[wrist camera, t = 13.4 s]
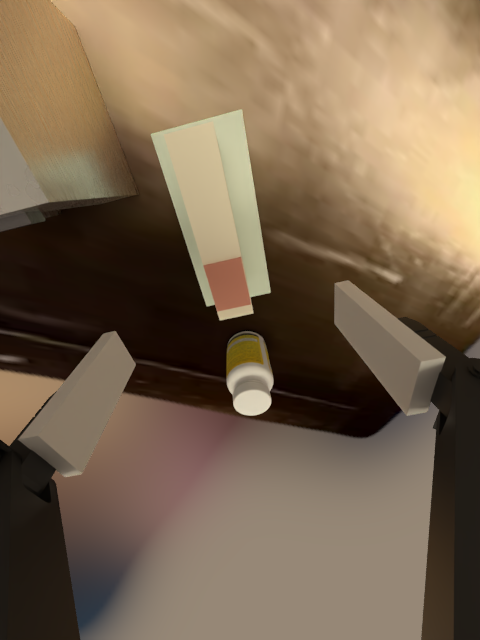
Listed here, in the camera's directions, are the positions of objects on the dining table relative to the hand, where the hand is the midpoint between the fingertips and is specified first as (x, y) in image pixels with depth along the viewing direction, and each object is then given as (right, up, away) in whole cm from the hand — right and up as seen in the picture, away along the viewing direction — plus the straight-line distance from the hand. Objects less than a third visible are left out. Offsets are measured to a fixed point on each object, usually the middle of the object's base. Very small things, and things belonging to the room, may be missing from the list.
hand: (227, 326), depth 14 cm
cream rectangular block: (-1, +10, +10) cm, 14 cm away
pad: (-1, +10, +10) cm, 15 cm away
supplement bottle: (+2, -3, +18) cm, 19 cm away
